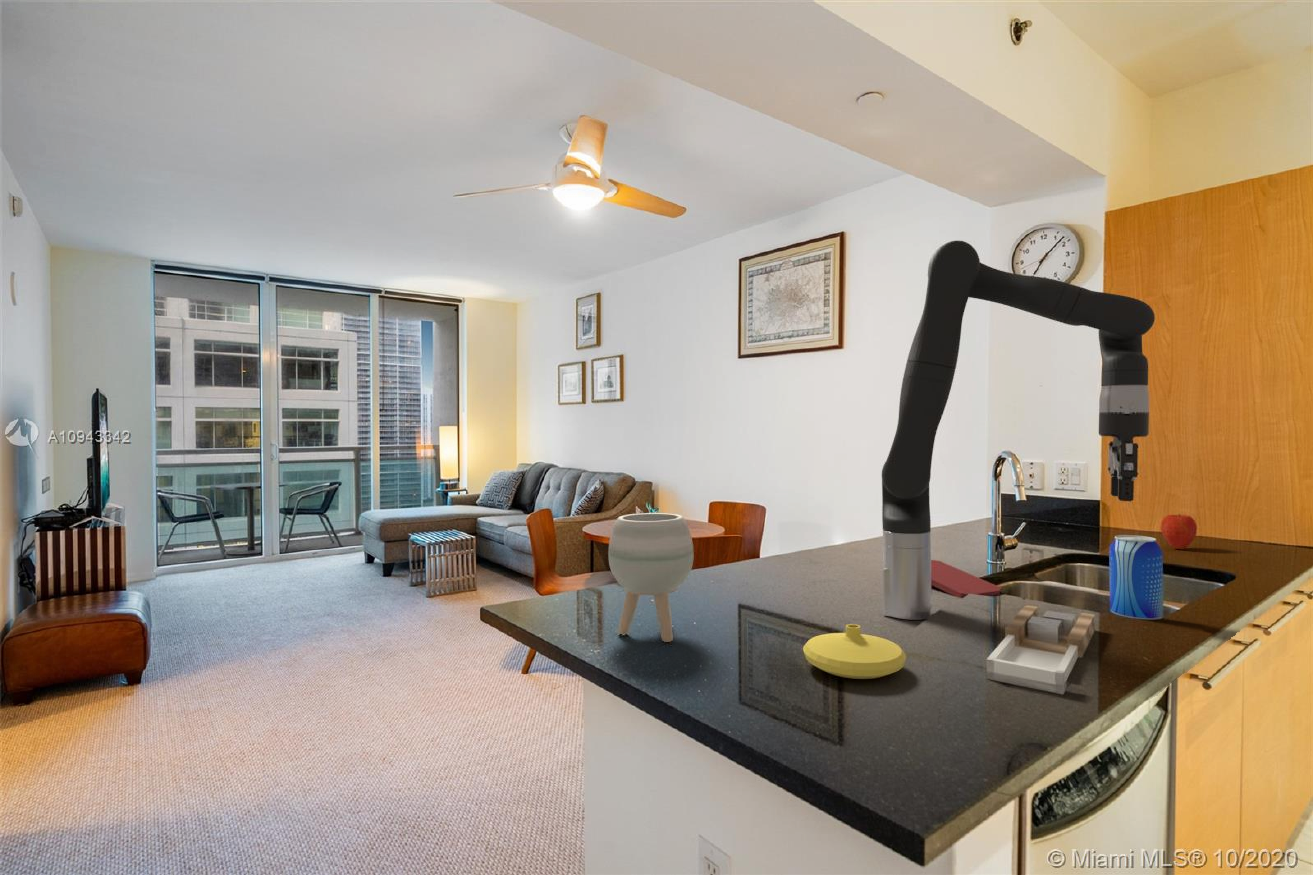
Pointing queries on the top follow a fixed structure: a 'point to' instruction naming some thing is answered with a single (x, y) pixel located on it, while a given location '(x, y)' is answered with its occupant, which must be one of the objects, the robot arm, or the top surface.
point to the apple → (1179, 530)
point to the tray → (1031, 666)
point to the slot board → (1077, 636)
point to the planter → (650, 562)
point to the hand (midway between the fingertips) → (1121, 498)
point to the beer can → (1136, 577)
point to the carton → (959, 581)
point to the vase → (854, 654)
